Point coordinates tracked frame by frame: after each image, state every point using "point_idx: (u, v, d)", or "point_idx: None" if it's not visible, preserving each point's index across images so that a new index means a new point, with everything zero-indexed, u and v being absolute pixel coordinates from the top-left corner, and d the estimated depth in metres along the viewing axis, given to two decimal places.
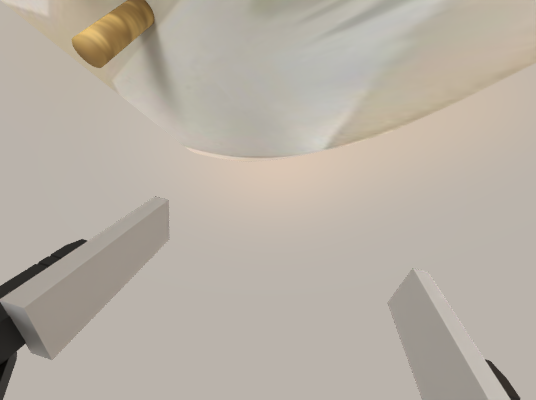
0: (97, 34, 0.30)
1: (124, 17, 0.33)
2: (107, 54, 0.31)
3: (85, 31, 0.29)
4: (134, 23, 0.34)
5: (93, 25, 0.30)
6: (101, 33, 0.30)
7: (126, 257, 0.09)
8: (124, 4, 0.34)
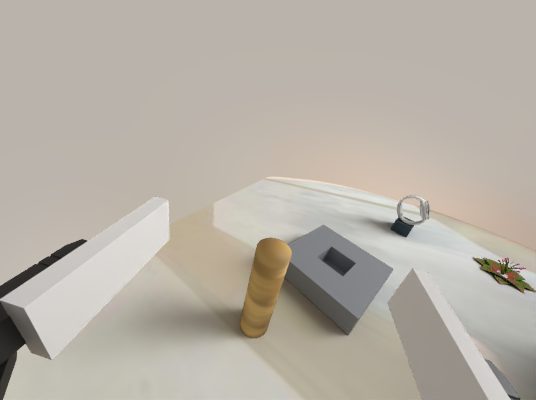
0: (286, 269, 0.25)
1: None
2: (274, 270, 0.23)
3: None
4: (267, 313, 0.27)
5: None
6: None
7: (126, 257, 0.09)
8: None
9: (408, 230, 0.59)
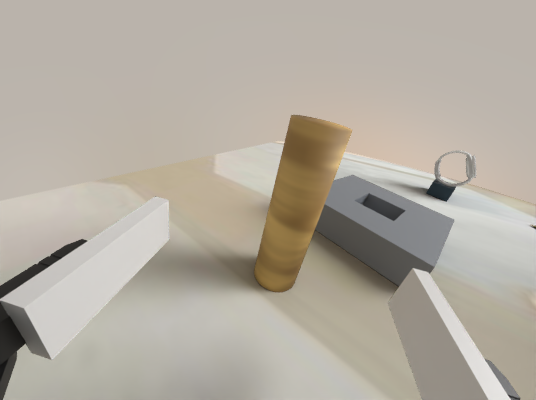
0: None
1: None
2: (326, 149, 0.13)
3: None
4: (301, 247, 0.17)
5: None
6: (336, 171, 0.15)
7: (126, 257, 0.09)
8: None
9: (449, 192, 0.49)
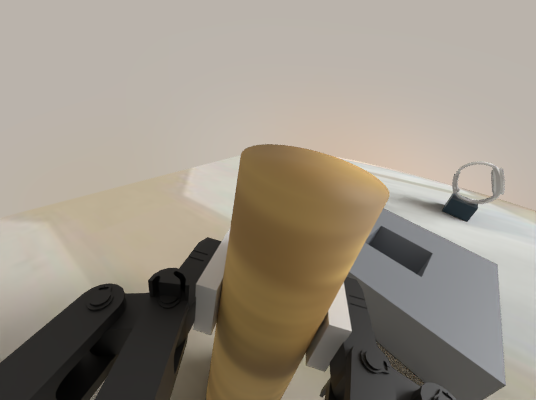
0: None
1: None
2: (325, 249, 0.05)
3: None
4: (279, 391, 0.09)
5: None
6: None
7: None
8: None
9: (471, 211, 0.41)
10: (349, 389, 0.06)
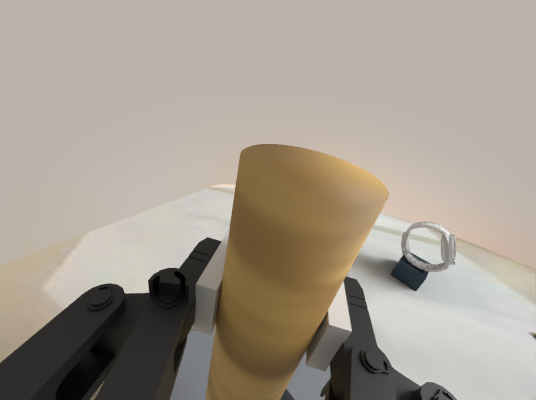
0: None
1: None
2: (323, 249, 0.05)
3: None
4: (278, 391, 0.09)
5: None
6: None
7: None
8: None
9: (420, 280, 0.36)
10: (349, 389, 0.06)
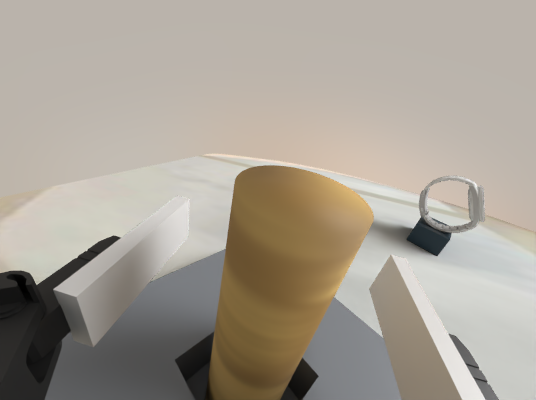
0: None
1: None
2: (311, 273, 0.05)
3: None
4: None
5: None
6: None
7: (154, 253, 0.10)
8: None
9: (442, 243, 0.31)
10: None
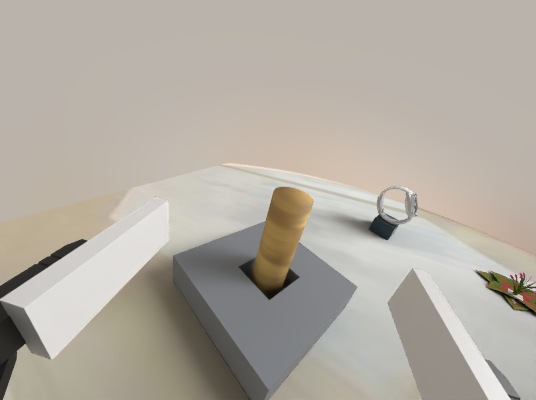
0: (306, 221, 0.21)
1: (289, 265, 0.24)
2: (294, 217, 0.20)
3: None
4: (281, 275, 0.24)
5: None
6: (304, 226, 0.22)
7: (126, 257, 0.09)
8: None
9: (390, 231, 0.46)
10: None
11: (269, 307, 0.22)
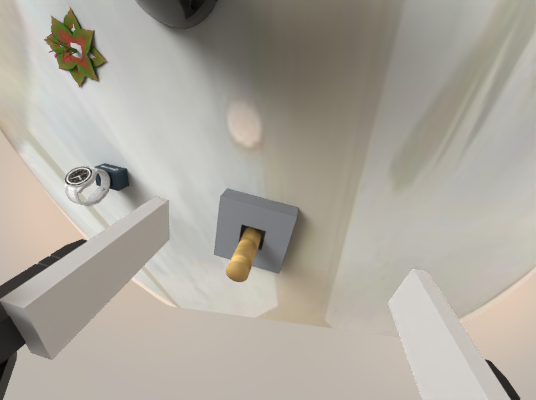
0: (237, 256, 0.39)
1: (247, 236, 0.44)
2: (246, 264, 0.38)
3: None
4: (253, 235, 0.44)
5: (233, 254, 0.40)
6: (238, 254, 0.39)
7: (126, 257, 0.09)
8: (244, 232, 0.47)
9: (119, 173, 0.48)
10: None
11: (269, 229, 0.45)
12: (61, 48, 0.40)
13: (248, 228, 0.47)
